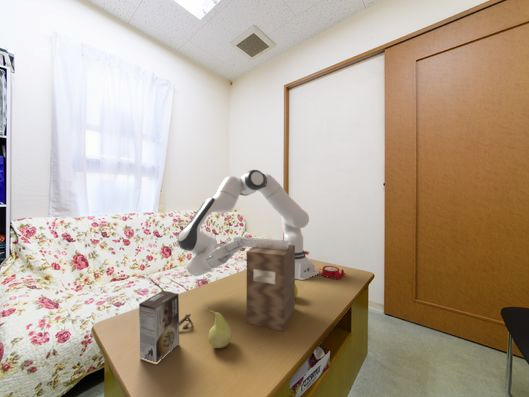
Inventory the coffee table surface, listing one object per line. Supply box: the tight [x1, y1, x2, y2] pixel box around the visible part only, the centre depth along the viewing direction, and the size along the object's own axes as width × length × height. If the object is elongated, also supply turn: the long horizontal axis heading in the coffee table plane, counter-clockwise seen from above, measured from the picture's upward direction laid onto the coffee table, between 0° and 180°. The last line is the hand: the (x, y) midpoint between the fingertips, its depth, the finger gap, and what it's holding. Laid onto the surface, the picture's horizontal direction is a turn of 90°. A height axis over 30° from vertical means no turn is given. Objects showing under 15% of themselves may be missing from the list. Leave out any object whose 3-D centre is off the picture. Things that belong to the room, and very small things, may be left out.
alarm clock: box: [319, 265, 348, 280], centre depth 126 cm, size 10×6×15 cm
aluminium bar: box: [233, 236, 289, 250], centre depth 86 cm, size 22×3×3 cm, turn 69°
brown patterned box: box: [246, 245, 296, 332], centre depth 84 cm, size 14×17×26 cm
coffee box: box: [138, 290, 180, 362], centre depth 64 cm, size 9×6×16 cm
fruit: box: [206, 308, 233, 349], centre depth 67 cm, size 7×8×12 cm
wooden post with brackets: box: [179, 313, 194, 330], centre depth 76 cm, size 2×8×4 cm, turn 128°
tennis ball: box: [295, 284, 299, 299], centre depth 98 cm, size 7×7×7 cm
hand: (243, 240), depth 88 cm, fingers open, 8 cm apart
